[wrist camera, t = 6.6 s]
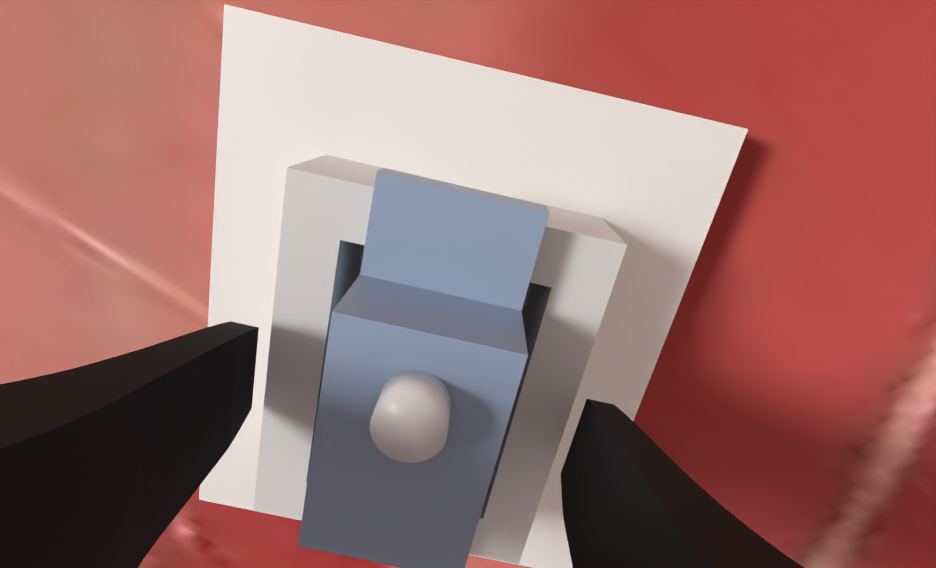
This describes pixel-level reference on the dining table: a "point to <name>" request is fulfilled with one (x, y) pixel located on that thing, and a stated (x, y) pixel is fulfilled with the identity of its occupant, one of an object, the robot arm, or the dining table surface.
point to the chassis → (462, 163)
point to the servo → (421, 373)
